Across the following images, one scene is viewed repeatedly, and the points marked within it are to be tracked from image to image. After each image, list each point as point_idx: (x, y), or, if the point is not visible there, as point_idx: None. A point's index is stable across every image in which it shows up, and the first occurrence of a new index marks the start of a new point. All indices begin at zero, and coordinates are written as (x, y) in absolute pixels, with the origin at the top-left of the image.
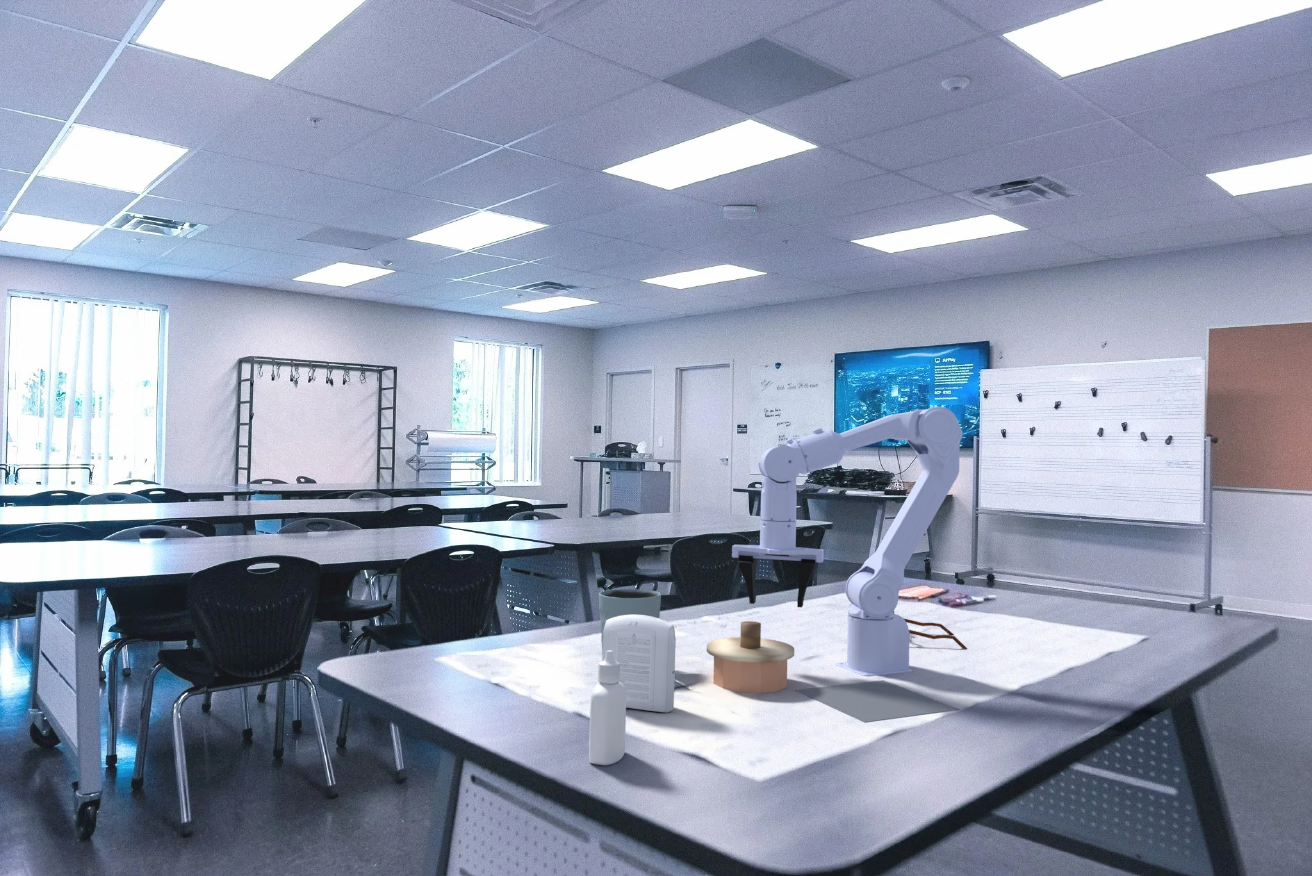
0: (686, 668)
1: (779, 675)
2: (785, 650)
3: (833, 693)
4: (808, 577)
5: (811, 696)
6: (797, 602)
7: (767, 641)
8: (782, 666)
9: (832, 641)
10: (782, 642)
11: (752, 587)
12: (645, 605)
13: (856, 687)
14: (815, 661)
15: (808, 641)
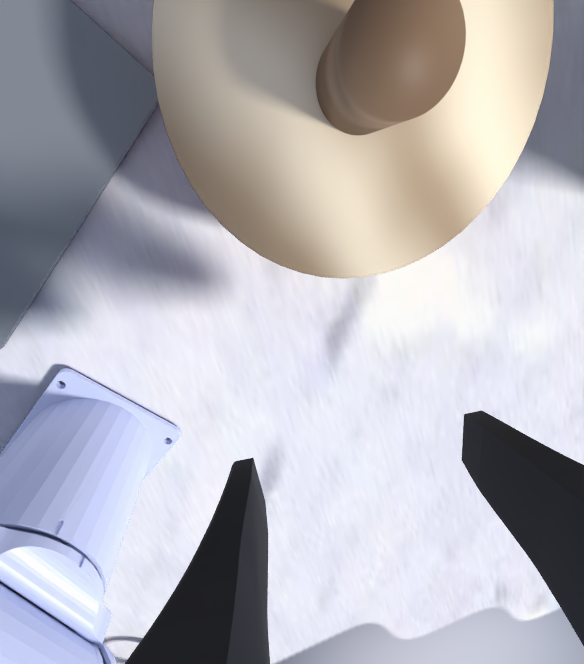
0: (535, 220)
1: None
2: (193, 88)
3: (37, 109)
4: (148, 634)
5: (79, 19)
6: (251, 471)
7: (321, 235)
8: None
9: (270, 602)
10: (262, 249)
11: (531, 463)
12: None
13: (16, 229)
14: (246, 453)
15: (314, 580)
